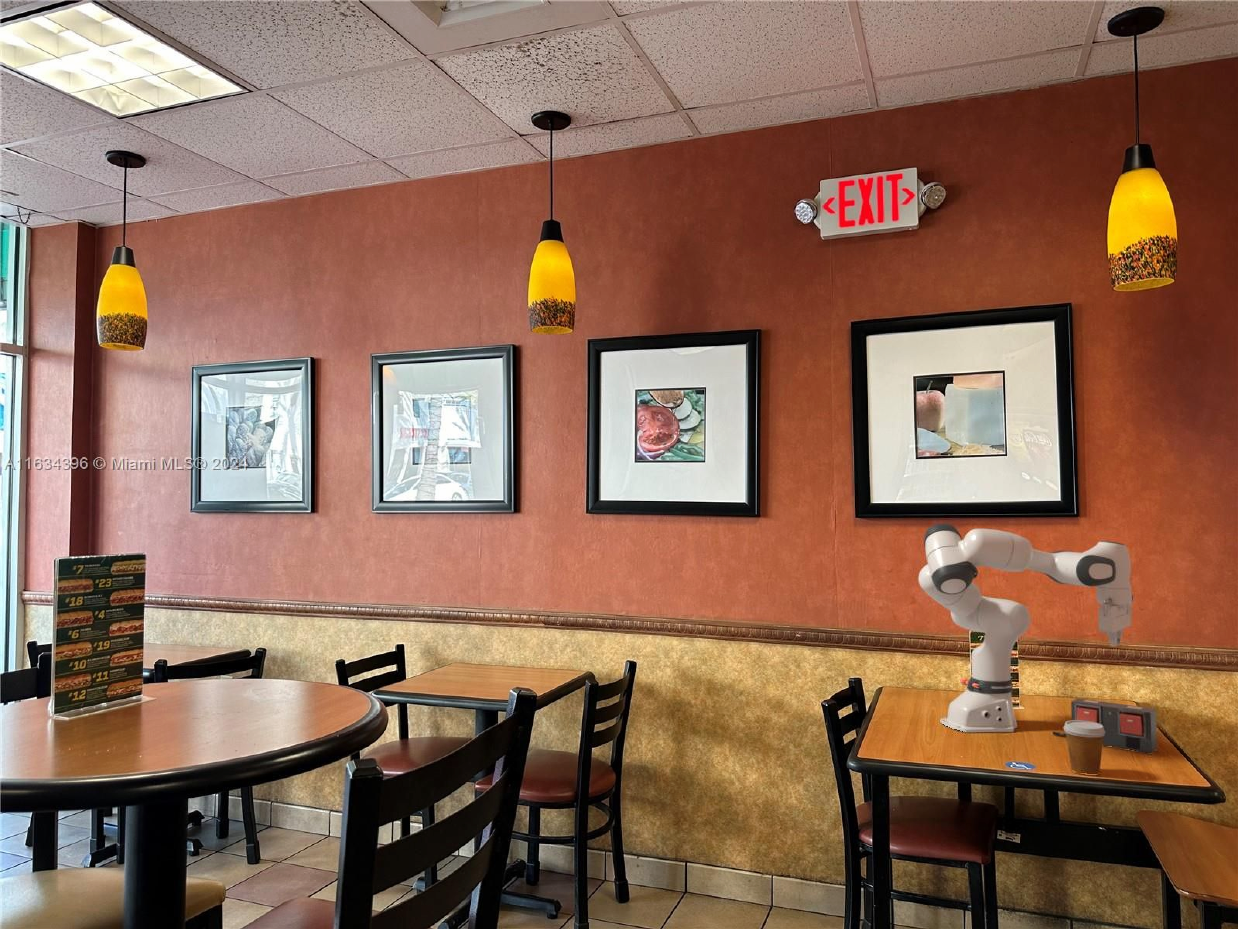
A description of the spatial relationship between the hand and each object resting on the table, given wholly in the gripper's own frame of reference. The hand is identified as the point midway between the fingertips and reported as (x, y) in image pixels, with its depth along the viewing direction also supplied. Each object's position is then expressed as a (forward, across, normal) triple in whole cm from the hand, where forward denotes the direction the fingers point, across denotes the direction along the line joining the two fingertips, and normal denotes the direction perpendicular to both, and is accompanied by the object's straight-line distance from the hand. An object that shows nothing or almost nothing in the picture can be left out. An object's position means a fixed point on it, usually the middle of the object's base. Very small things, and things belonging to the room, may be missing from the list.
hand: (1115, 645), depth 253 cm
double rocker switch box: (+27, -7, +2) cm, 28 cm away
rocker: (+22, -12, +5) cm, 25 cm away
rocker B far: (+22, -10, -6) cm, 25 cm away
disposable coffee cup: (+27, -38, -2) cm, 47 cm away
